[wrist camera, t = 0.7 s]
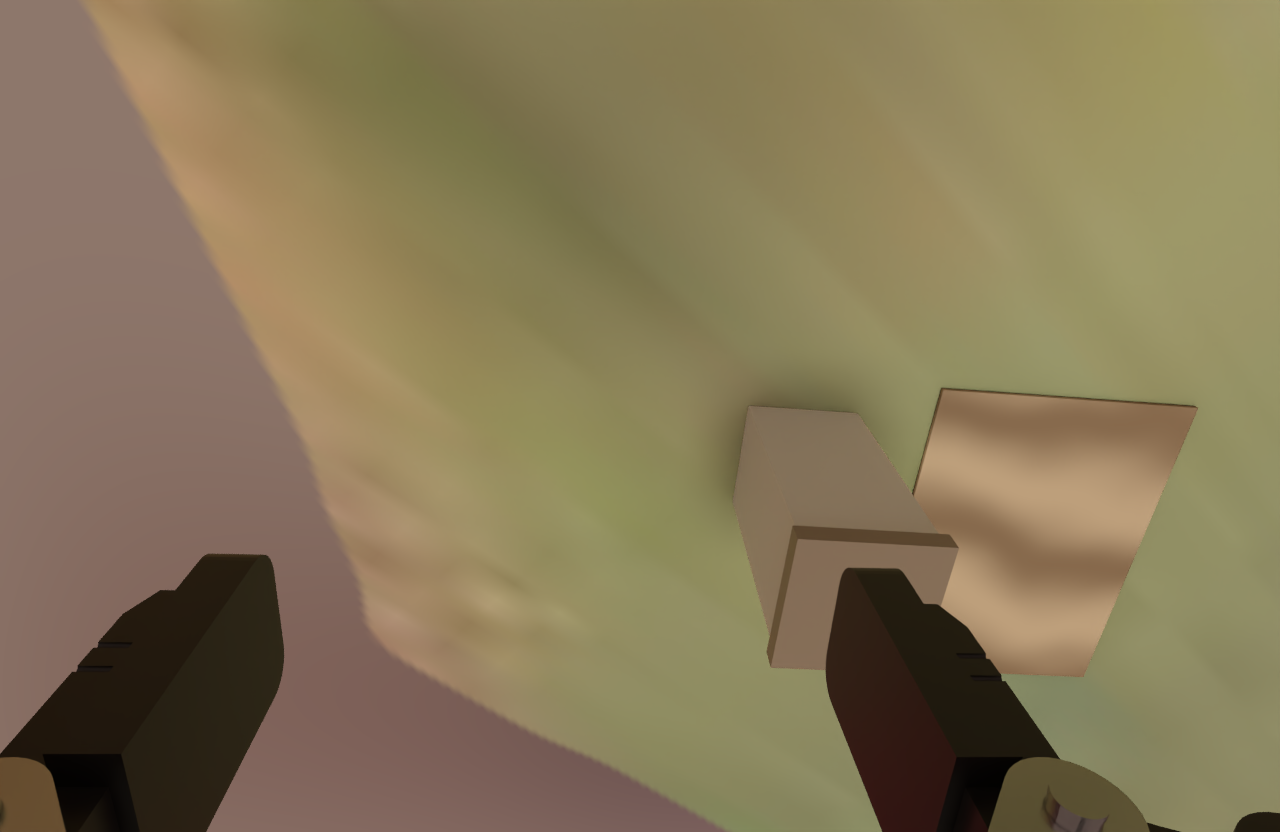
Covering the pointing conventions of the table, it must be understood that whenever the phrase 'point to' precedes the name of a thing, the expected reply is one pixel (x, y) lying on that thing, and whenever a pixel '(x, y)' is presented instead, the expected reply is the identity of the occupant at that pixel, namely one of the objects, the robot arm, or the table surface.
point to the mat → (1043, 514)
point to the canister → (825, 523)
